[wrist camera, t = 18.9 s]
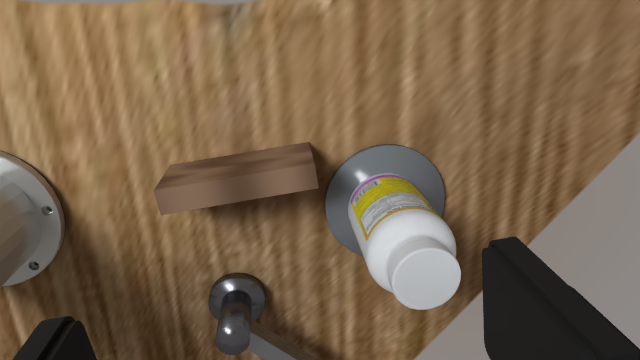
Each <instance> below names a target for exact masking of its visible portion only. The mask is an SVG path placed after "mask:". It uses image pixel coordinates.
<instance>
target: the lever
mask: <svg viewBox="0 0 640 360" xmlns="http://www.w3.org/2000/svg"><path fill="white" fill-rule="evenodd" d="M264 307H265V291H264V288H263V286H262V284H261V283H260V282H259V281H258V280H257V279H256V278H254V277H252V276H250V275H248V274H244V273H232V274H228V275H225V276H223V277H221V278H220V279H218V280H217V281H216V282H215V284H214V285H213V287H212V289H211V292H210V296H209V308H210V311H211V313H212V315H213V316H214V317H215V318H216V319H217V320H218V321H219V322H218V328H217V334H216V340H215V342H216V346H217V348H218V349H219V350H220V351H221V352H223V353H225V354H229V355H236V354H240V353H242V352H243V351H245V350H246V349H248V350H249V351H251V352H253V353H254V354H256V355H258V356H260V357H261V358H263V359H265V360H318V359H316V358H314V357H313V356H311V355H310V354H308V353H306V352H305V351H303V350H301V349H300V348H298V347H296V346H295V345H293V344H292V343H290V342H288V341H287V340H285V339H283V338H282V337H280V336H278V335H277V334H275V333H273V332H272V331H270V330H269V329H267V328H265V327H264V326H262V325H260V324H259V323H257V322H255V320H256V319H257V318H258V317H259V316H260V315H261V314H262V312H263V310H264Z"/></svg>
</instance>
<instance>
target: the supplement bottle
mask: <svg viewBox="0 0 640 360" xmlns="http://www.w3.org/2000/svg"><path fill="white" fill-rule="evenodd" d="M348 215H349V220H350V223H351V226H352V228H353V231H354V233H355V236H356V238H357V241H358V243H359V246H360V249H361V251H362V254H363V256H364V259H365V262H366V264H367V267H368V269H369V272H370V274H371V275H372V277H373V278H374V280H375V281H376V282H377V283H378V284H379V285H380V286H381V287H383V288H384V289H386V290H388V291H390V292H392V293H394V295H395V296H396V298H397V299H398V300H399V301H400V302H401V303H402V304H404V305H405V306H407V307H409V308H412V309H417V310H427V309H431V308H435V307H438V306H440V305H442V304H443V303H445V302H446V301H448V300H449V299H450V298H451V297H452V296H453V295H454V293H455V292H456V290H457V288H458V286H459V284H460V280H461V269H460V266H459V263H458V261H457V260H456V242H455V238H454V236H453V233H452V231H451V230H450V228H449V227H448V225H447V224H446V223H445V221H444V220H443V219H442V218H441V217H440V216H439V215H438V213H437V212H436V211H435V210H434V209H433V207H432V206H431V205H430V204H429V203H428V201H427V200H426V199H425V198H424V197H423V195H422V194H421V193H420V192H419V191H418V189H417V188H416V187H415V186H414V185H413V184H412V183H411V182H410V181H409V180H407V179H406V178H404V177H402V176H400V175H397V174H393V173H383V174H377V175H374V176H371V177H369V178H367V179H366V180H364V181H363V182H362V183H360V184H359V185H358V186H357V187H356V189H355V190H354V192H353V193H352V195H351V198H350V200H349V205H348Z"/></svg>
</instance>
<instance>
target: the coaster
mask: <svg viewBox="0 0 640 360" xmlns="http://www.w3.org/2000/svg"><path fill="white" fill-rule="evenodd" d="M383 173H393V174H397V175H400V176H402V177H404V178H406V179H407V180H409V181H410V182H411V183H412V184H413V185H414V186H415V187H416V188H417V189H418V191H419V192H420V193H421V194H422V195H423V197H424V198H425V199H426V200H427V201H428V203H429V204H430V205H431V206H432V207H433V209H434V210H435V211H436V212H437V213H438V215H439V216H440V217H441V216H442V213H443V209H444V203H445V191H444V185H443V182H442V179H441V177H440V174H439V173H438V171H437V169H436V168H435V167H434V165H433V164H432V163H431V162H430V161H429V160H428V159H427V158H426V157H424V156H423V155H422V154H420V153H419V152H417V151H415V150H413V149H411V148H408V147H405V146H401V145H395V144H384V145H377V146H372V147H369V148H366V149H363V150H361V151H359V152H357V153H355V154H354V155H353V156H351V157H350V158H348V159H347V160H346V161H345V162H344V163H343V164H342V165H341V166H340V167H339V168H338V169H337V171H336V172H335V174H334V175H333V177H332V179H331V181H330V183H329V185H328V188H327V192H326V197H325V213H326V217H327V221H328V224H329V226H330V229H331V231H332V232H333V234H334V236H335V237H336V238H337V239H338V241H339V242H340V243H341V244H342V245H344V246H345V247H346V248H348V249H349V250H351V251H353V252H355V253H357V254H359V255H362V256H363V254H362V251H361V249H360V246H359V243H358V241H357V238H356V236H355V233H354V231H353V228H352V226H351V223H350V220H349V215H348V205H349V200H350V198H351V195H352V193H353V192H354V190H355V189H356V187H357V186H358V185H359V184H360V183H362V182H363V181H364V180H366V179H367V178H369V177H371V176H374V175H377V174H383Z"/></svg>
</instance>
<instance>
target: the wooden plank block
mask: <svg viewBox="0 0 640 360" xmlns="http://www.w3.org/2000/svg"><path fill="white" fill-rule="evenodd" d="M317 188H319V187H318V180H317V174H316V168H315V162H314V159H313V155H312V152H311V148H310V145H309V142H307V143H301V144H295V145H289V146H283V147H277V148H271V149H265V150H259V151H253V152H247V153H241V154H235V155H229V156H223V157H217V158H211V159H205V160H199V161H193V162H187V163H181V164H175V165H170V166H169V168H168V169H167V171H166V172H165V174H164V176H163V177H162V179H161V180H160V182H159V183H158V185H157V187H156V188H155V190H154V193H155V196H156V200H157V203H158V207H159V210H160V214H161V215H165V214H171V213H177V212H182V211H188V210H194V209H200V208H206V207H212V206H218V205H223V204H229V203H235V202H241V201H247V200H253V199H259V198H264V197H270V196H276V195H282V194H288V193H294V192H300V191H305V190H311V189H317Z"/></svg>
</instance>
